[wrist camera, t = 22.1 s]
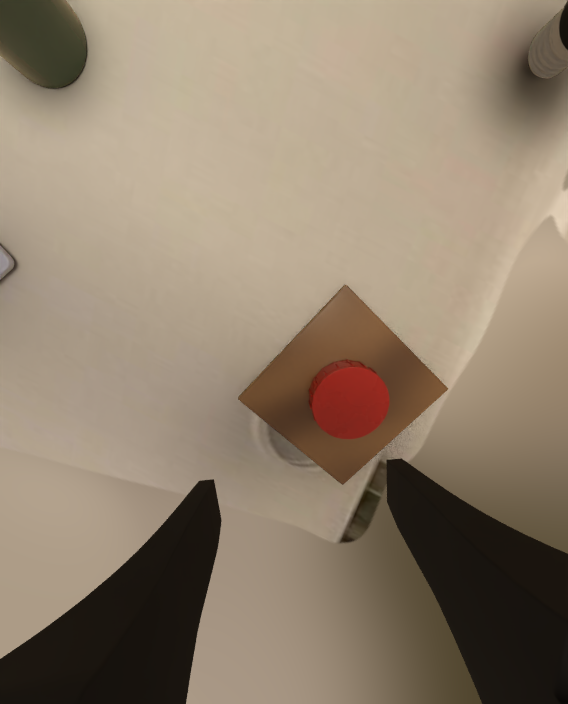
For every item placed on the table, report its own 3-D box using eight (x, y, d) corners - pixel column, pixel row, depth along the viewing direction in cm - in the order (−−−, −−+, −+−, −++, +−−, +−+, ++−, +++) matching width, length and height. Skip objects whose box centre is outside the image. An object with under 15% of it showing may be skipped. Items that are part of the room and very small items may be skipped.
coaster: (238, 397, 20) (237, 399, 20) (344, 284, 19) (346, 284, 18) (341, 481, 22) (342, 485, 22) (445, 387, 21) (448, 389, 20)
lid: (395, 389, 20) (407, 399, 18) (345, 440, 21) (352, 454, 19) (342, 343, 19) (349, 349, 17) (292, 399, 20) (294, 410, 18)
